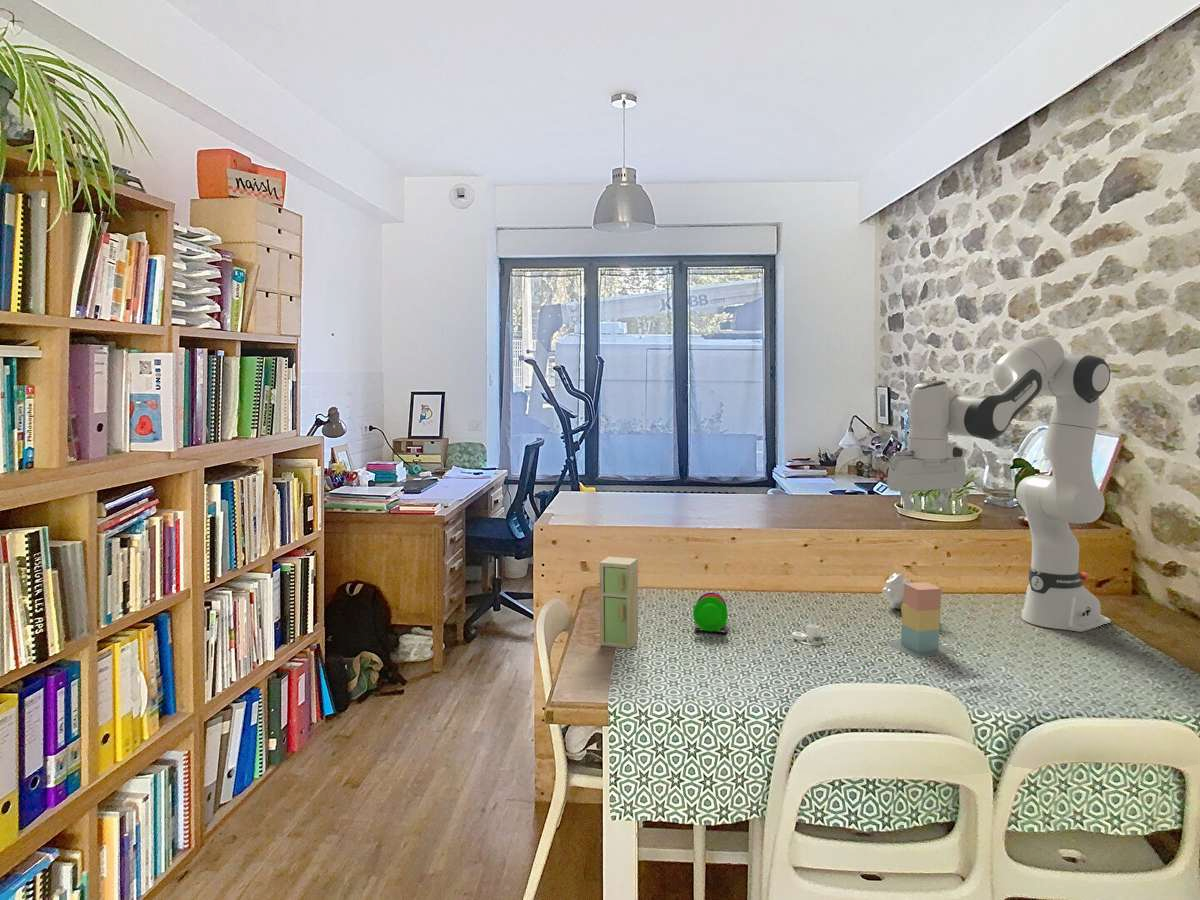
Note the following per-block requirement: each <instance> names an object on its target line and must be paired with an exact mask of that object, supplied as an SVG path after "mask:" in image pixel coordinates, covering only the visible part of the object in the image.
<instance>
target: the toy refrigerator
mask: <svg viewBox="0 0 1200 900" xmlns="http://www.w3.org/2000/svg"><path fill="white" fill-rule="evenodd" d="M638 563H639V562H638V558H632V557H619V556H618V557H617V556H608V557H607V556H606V558H604V559H603V560H600V562H599V628H600V629H599V630H600V631H599V634H600V637H599V638H600V641H599V642H600V643H599V644H600V646H601V647H602V646H603V647H611V648H619V649H620V648H621V649H632V648H633V647H634V645H635V644H637V642H638V641H639V590H638V589H639V586H638V585H639V581H638V580H639V578H638V577H639V575H638V574H639V569H638V568H639V566H638V565H639V564H638Z"/></svg>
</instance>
